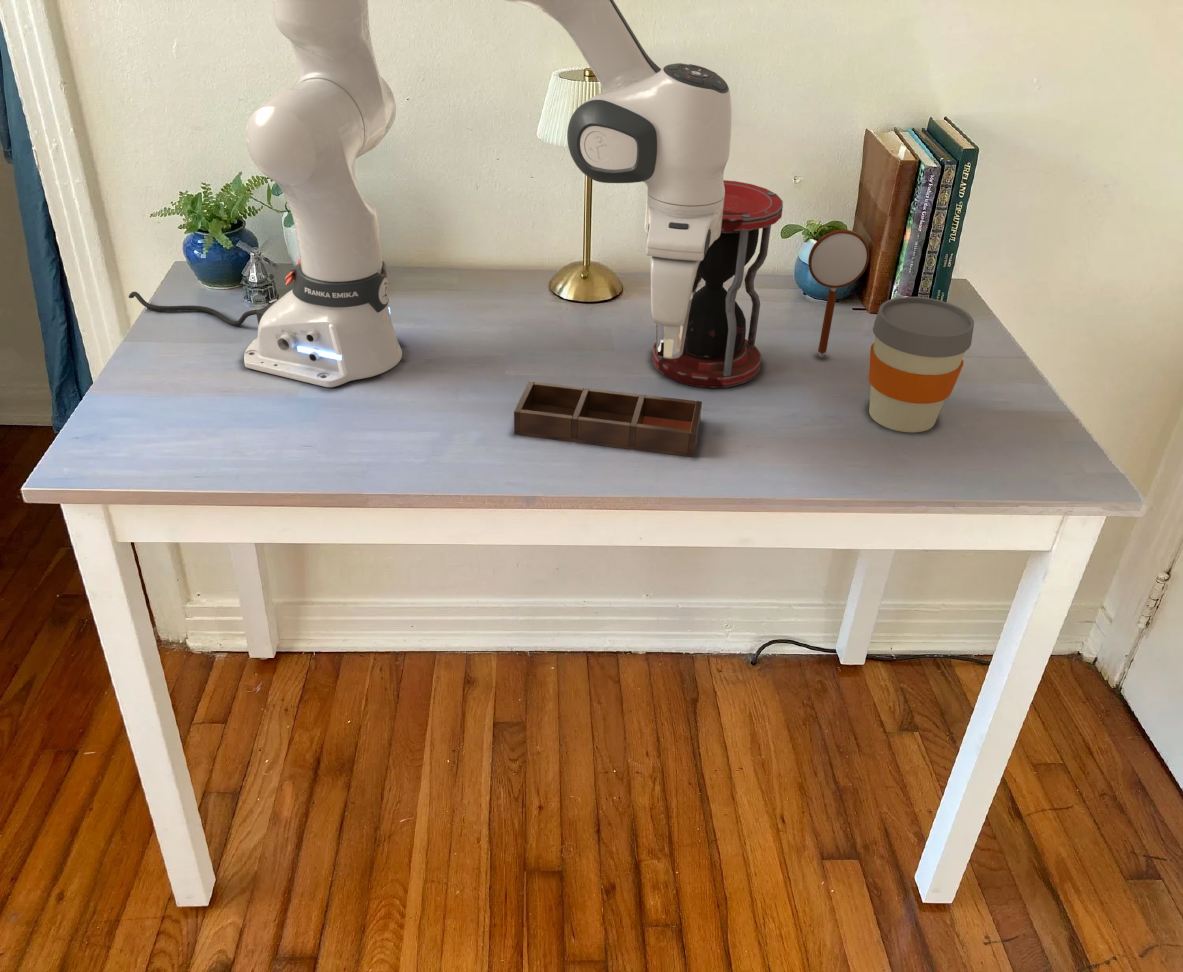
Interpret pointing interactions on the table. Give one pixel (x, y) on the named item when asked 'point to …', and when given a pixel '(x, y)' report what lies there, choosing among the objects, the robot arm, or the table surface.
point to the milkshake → (669, 346)
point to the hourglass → (726, 295)
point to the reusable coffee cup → (915, 360)
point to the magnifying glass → (836, 269)
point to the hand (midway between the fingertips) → (674, 327)
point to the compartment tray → (608, 418)
